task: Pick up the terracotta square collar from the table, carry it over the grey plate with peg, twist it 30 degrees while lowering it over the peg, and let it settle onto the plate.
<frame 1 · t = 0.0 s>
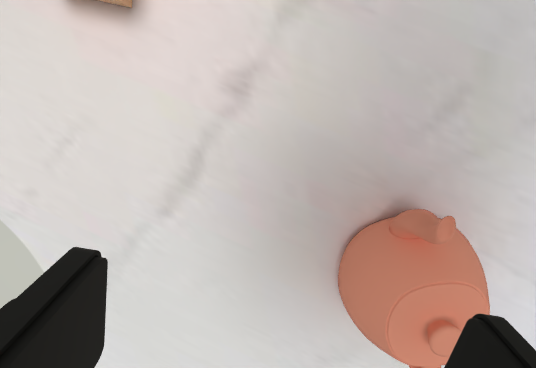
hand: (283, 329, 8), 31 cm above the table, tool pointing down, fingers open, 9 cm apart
teapot: (396, 259, 44), on the table
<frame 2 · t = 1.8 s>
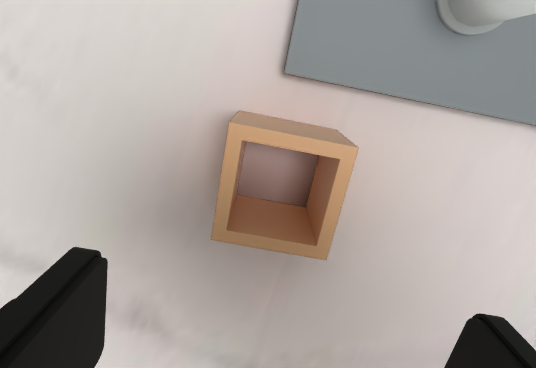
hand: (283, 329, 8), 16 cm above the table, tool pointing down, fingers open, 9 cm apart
collar: (278, 167, 24), on the table
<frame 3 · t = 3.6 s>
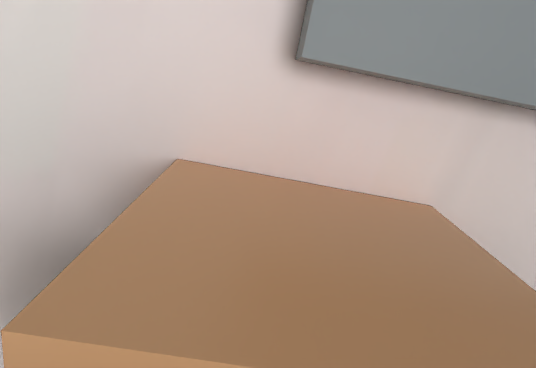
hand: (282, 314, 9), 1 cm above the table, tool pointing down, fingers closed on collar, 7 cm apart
collar: (281, 290, 10), on the table, touching gripper
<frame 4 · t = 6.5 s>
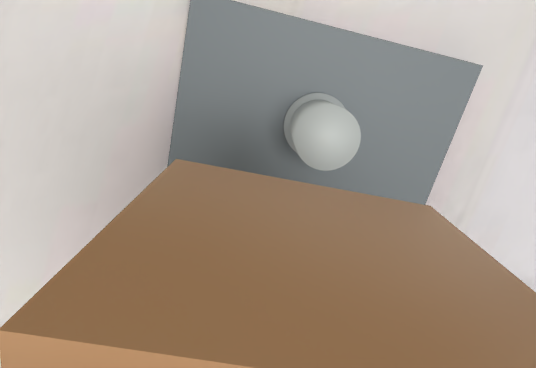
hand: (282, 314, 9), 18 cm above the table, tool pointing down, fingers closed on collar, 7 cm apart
collar: (279, 290, 10), point 17 cm above the table, touching gripper
grey plate with peg: (312, 122, 25), on the table
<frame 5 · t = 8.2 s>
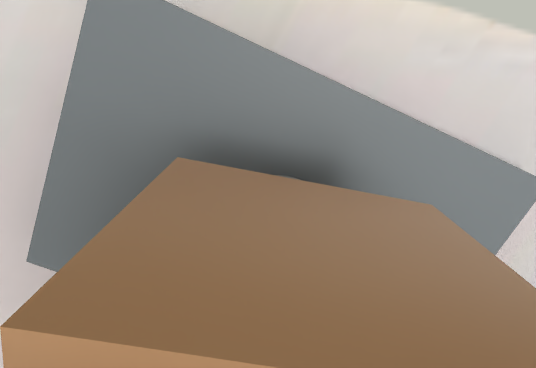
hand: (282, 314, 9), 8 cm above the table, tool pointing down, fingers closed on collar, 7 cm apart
collar: (281, 289, 10), point 7 cm above the table, touching gripper
grey plate with peg: (276, 210, 16), on the table
when the fingers open (4 cm above the table, at t = 9.5 s): collar drops 1 cm, resting on grey plate with peg.
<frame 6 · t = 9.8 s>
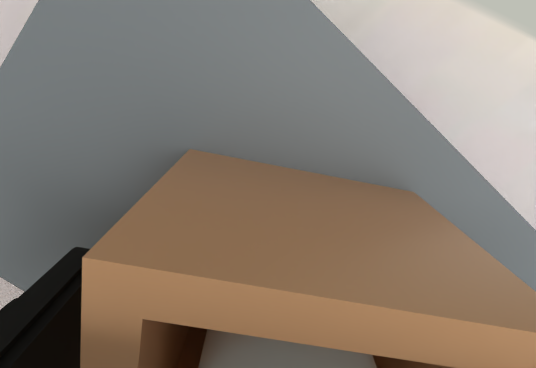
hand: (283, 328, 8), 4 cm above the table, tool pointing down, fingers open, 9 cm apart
collar: (280, 268, 11), point 1 cm above the table, touching grey plate with peg
grey plate with peg: (277, 245, 12), on the table
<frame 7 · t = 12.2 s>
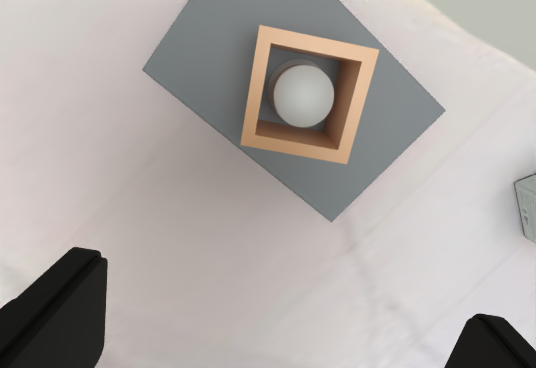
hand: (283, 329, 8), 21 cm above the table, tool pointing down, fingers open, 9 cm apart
collar: (297, 91, 25), point 1 cm above the table, touching grey plate with peg
grey plate with peg: (295, 89, 27), on the table
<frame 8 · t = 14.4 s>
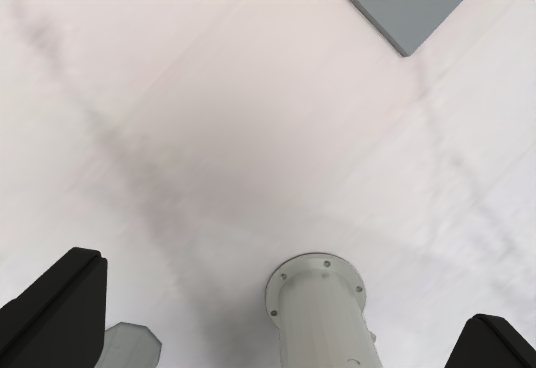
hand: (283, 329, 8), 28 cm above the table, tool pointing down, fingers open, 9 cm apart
coffee maker: (136, 351, 45), on the table
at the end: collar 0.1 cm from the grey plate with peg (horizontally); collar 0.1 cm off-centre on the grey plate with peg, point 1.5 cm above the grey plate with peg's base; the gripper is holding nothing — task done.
